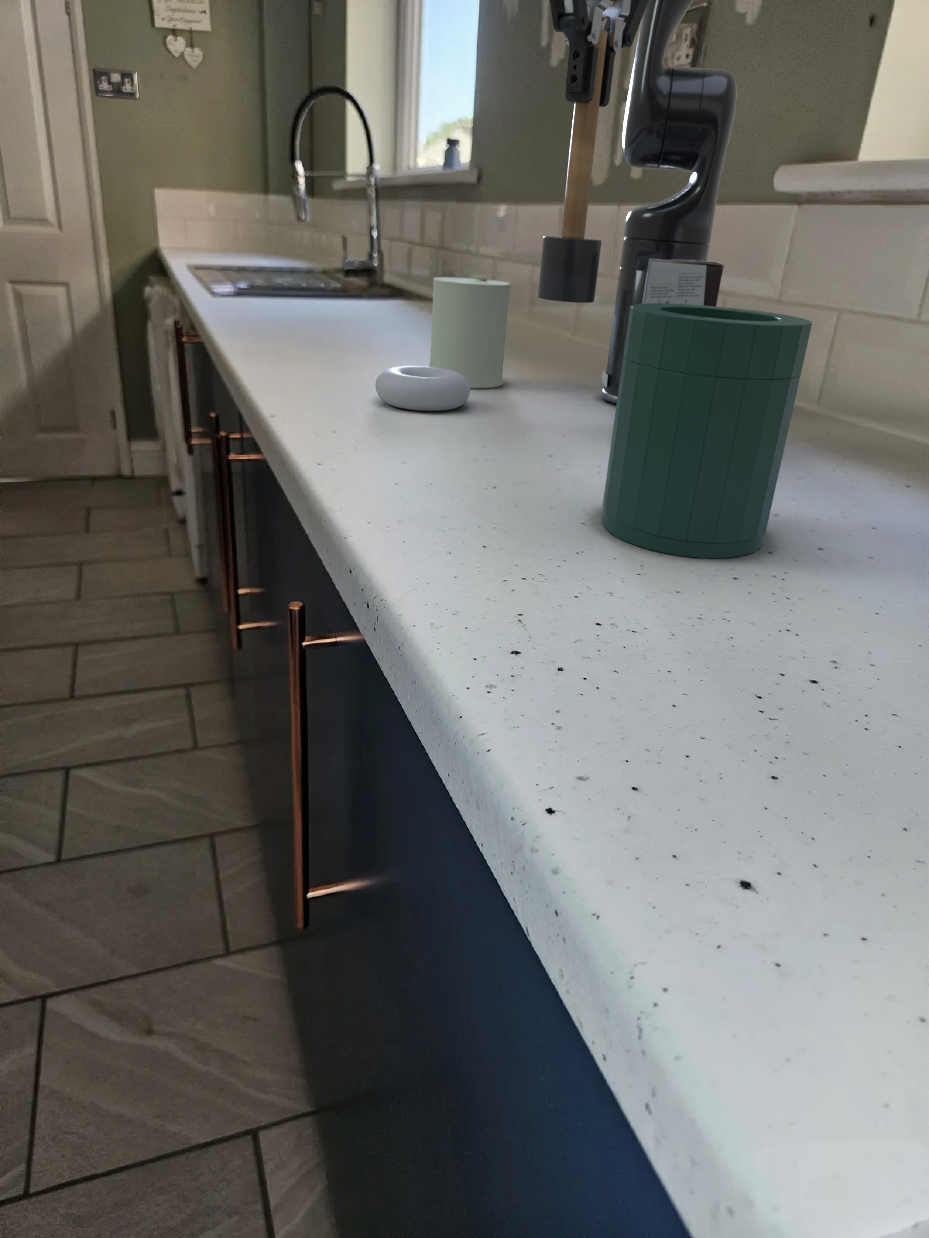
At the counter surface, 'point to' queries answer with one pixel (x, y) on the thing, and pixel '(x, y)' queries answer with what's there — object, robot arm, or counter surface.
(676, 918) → the counter surface
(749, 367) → the green utensil holder
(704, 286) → the coffee box
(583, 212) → the brush
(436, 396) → the donut
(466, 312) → the can
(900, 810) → the counter surface
